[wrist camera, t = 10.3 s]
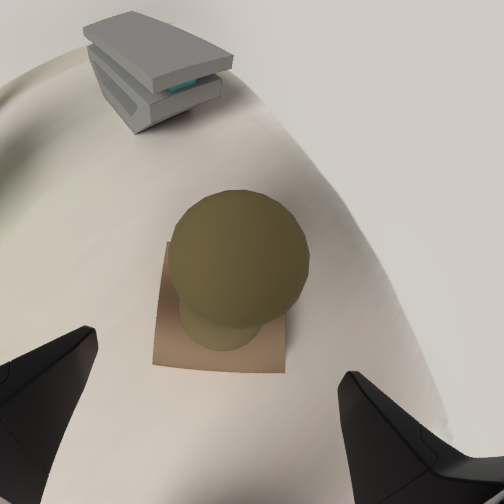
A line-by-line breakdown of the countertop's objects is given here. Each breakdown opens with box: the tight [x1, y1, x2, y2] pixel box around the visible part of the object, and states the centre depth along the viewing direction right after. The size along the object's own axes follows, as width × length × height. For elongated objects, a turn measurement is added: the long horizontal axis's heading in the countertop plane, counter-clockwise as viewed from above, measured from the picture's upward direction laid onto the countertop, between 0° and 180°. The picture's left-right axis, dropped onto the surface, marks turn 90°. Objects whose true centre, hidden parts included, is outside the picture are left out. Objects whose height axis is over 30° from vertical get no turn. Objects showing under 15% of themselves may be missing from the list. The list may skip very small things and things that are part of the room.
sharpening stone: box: [83, 11, 234, 134], centre depth 25 cm, size 25×8×11 cm, turn 41°
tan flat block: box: [152, 242, 286, 373], centre depth 20 cm, size 9×9×3 cm
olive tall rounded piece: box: [168, 190, 310, 352], centre depth 13 cm, size 6×6×11 cm
